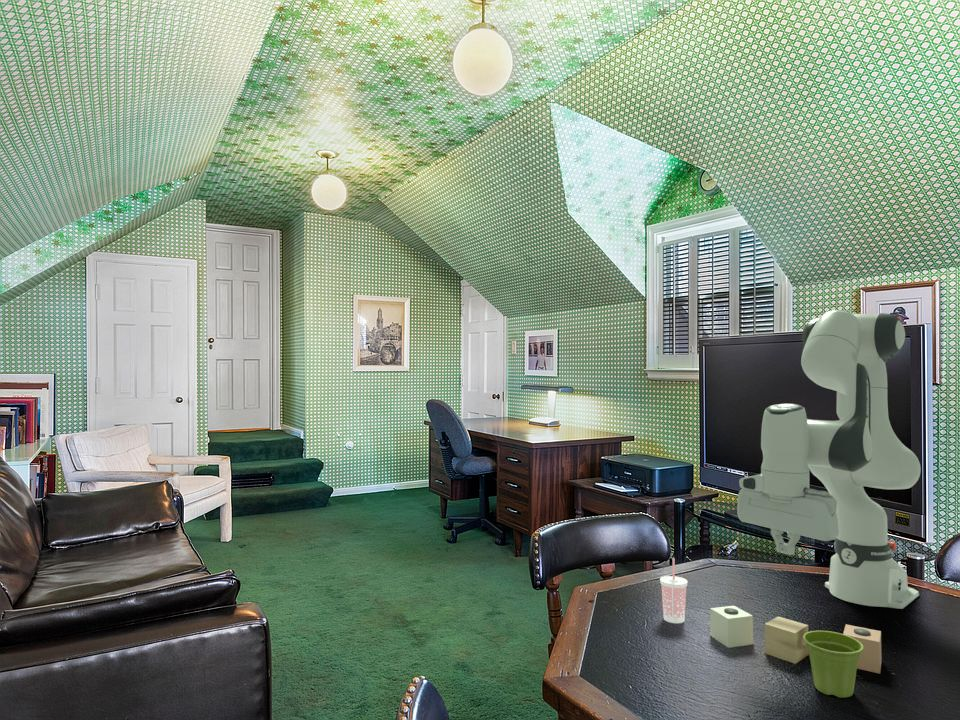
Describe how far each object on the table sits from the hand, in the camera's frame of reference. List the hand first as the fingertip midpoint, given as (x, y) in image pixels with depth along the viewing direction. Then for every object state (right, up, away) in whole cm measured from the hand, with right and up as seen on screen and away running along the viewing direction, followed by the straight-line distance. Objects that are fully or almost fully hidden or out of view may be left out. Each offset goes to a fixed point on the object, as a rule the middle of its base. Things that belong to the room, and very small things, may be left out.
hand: (785, 553), depth 127 cm
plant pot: (+2, -20, -15) cm, 25 cm away
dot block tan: (+13, -20, -4) cm, 24 cm away
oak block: (0, -20, 0) cm, 20 cm away
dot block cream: (-8, -21, +6) cm, 23 cm away
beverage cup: (-17, -21, +17) cm, 32 cm away
